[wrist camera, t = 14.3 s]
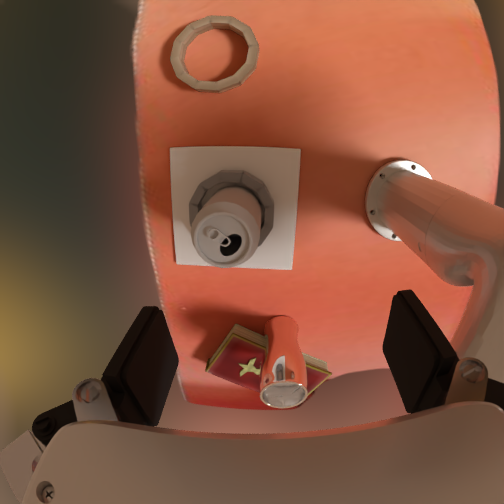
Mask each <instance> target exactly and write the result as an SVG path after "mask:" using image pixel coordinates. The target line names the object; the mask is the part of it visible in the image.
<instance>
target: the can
mask: <svg viewBox="0 0 504 504" xmlns="http://www.w3.org/2000/svg"><path fill="white" fill-rule="evenodd" d="M261 216H262V212H261V205H260V203H259V200H258V198H257V197H256V196H255V195H254V194H253V192H252V191H250V190H248V189H246V188H245V187H241V186H236V185H234V186H226V187H224V188H222V189H220V190H218V191H217V192H216V193H215V194H214V195H213V196H212V197H211V198H210V199H209V201H208V202H207V203H206V204H205V205H204V207H203V208H202V209H201V210H200V211H199V212H198V214H197V215H196V217H195V219H194V221H193V223H192V228H191V238H192V243H193V245H194V247H195V249H196V251H197V253H198V255H199V256H200V257H201V258H202V259H203V260H204V261H205V262H207V263H209V264H211V265H212V266H215V267H220V268H231V267H234V266H237V265H240V264H242V263H244V262H246V261H247V260H248V259H250V258H251V257H252V256H253V254H254V253H255V251H256V250H257V247H258V243H259V239H260V229H261Z"/></svg>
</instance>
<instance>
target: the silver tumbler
mask: <svg viewBox="0 0 504 504" xmlns="http://www.w3.org/2000/svg"><path fill="white" fill-rule="evenodd" d="M298 331H299V328H298V324H297V322H296V321H295V320H294V319H292V318H290V317H287V316H277V317H274V318H272V319H270V320H269V321H268V322H267V323H266V324H265V327H264V333H265V337H266V346H265V350H264V353H263V357H262V361H261V365H260V398H261V400H262V401H263V402H264V403H265V404H266V405H268V406H271V407H275V408H290V407H294V406H297V405H299V404H301V403H302V402H303V401H304V400H305V399H306V398H307V395H308V391H307V370H306V364H305V361H304V357H303V355H302V352H301V349H300V347H299V344H298Z"/></svg>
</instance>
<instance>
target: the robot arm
mask: <svg viewBox="0 0 504 504" xmlns="http://www.w3.org/2000/svg"><path fill="white" fill-rule="evenodd" d="M411 166H412V168H411ZM380 174H381V177H380ZM365 209H366V213H367V217H368V219H369V221H370V223H371V225H372V226H373V228H374V229H375V230H376V231H377V232H378V233H379V234H380V235H382V236H383V237H385V238H387V239H389V240H393V241H403V242H404V243H405V244H406V245H407V246H408V247H409V248H410V249H411V250H412V251H413V252H415V253H416V254H417V255H418V256H419V257H420V258H421V259H422V260H423V261H424V262H425V263H426V264H427V265H428V266H429V267H430V268H431V269H432V270H433V271H434V272H435V273H436V274H437V275H438V276H439V277H440V278H441V279H442V280H443V281H445V282H447V283H449V284H451V285H454V286H472V285H474V287H473V291H472V294H471V296H470V299H469V302H468V304H467V308H466V310H465V312H464V315H463V317H462V319H461V321H460V323H459V325H458V328H457V330H456V332H455V334H454V336H453V338H452V340H451V342H450V343H449V341H448V340H447V338H446V337H445V335H444V334H443V332H442V331H441V329H440V328H439V326H438V325H437V324H436V322H435V321H434V319H433V318H432V317H431V315H430V314H429V312H428V311H427V310H426V308H425V307H424V305H423V304H422V303H421V301H420V300H419V299H418V297H417V296H416V295H415V293H414V292H413V291H412V290H403V291H398V292H397V294H396V295H394V296H393V300H392V305H391V310H390V315H389V320H388V324H387V329H386V333H385V338H384V342H383V353H384V355H385V358H386V360H387V363H388V365H389V367H390V370H391V372H392V375H393V377H394V380H395V382H396V385H397V387H398V390H399V393H400V395H401V398H402V401H403V403H404V406H405V409H406V411H407V413H411V414H408V415H404V416H399V417H395V418H390V419H386V420H381V421H377V422H372V423H366V424H361V425H355V426H349V427H342V428H334V429H326V430H318V431H307V432H294V433H277V434H276V433H273V434H228V433H227V434H226V433H208V432H195V431H185V430H176V429H167V428H159V427H154V426H157V425H158V423H159V420H160V417H161V414H162V411H163V408H164V405H165V402H166V399H167V396H168V393H169V390H170V387H171V384H172V381H173V378H174V375H175V372H176V369H177V367H178V362H179V359H178V355H177V352H176V349H175V346H174V344H173V341H172V338H171V335H170V332H169V329H168V326H167V323H166V320H165V317H164V313H163V311H162V310H159V308H158V307H156V306H145V307H143V308H142V309H141V311H140V313H139V314H138V316H137V317H136V319H135V321H134V322H133V324H132V325H131V327H130V329H129V330H128V332H127V334H126V335H125V337H124V339H123V340H122V342H121V344H120V345H119V347H118V349H117V350H116V352H115V354H114V355H113V357H112V359H111V360H110V362H109V364H108V366H107V367H106V369H105V371H104V373H103V377H102V378H101V380H99V379H96V378H89V379H85V380H83V381H81V382H80V383H79V384H77V385H76V387H75V388H74V390H73V393H72V399H73V400H71V401H69V402H67V403H64V404H62V405H60V406H58V407H55V408H53V409H51V410H49V411H46V412H44V413H42V414H40V415H39V416H38V417H37V418H36V419H35V420H34V422H33V426H32V432H30V431H29V430H28V431H26V432H25V433H24V434H22V435H21V436H20V437H18V438H17V439H16V440H14V441H13V442H12V443H11V444H9V445H8V446H7V447H5V448H4V449H3V450H2V451H1V453H0V467H1V469H2V471H3V473H4V475H5V477H6V480H7V482H8V483H9V485H10V487H11V489H12V491H13V493H14V495H15V497H16V498H17V500H18V502H19V504H504V209H503V208H500V207H498V206H496V205H493V204H491V203H488V202H486V201H484V200H481V199H479V198H477V197H475V196H472V195H470V194H468V193H465V192H463V191H461V190H458V189H456V188H454V187H451V186H449V185H446V184H444V183H441V182H438V181H436V180H433V179H432V177H431V176H430V174H429V173H428V172H427V170H426V169H425V168H424V167H422V166H421V165H419V164H417V163H415V162H413V161H409V160H394V161H391V162H389V163H386V164H385V165H383V166H382V167H381V168H380V169H379V170H378V171H377V172H376V173H375V174H374V175H373V177H372V178H371V180H370V182H369V184H368V187H367V191H366V195H365ZM371 210H372V212H370V211H371ZM392 234H393V235H392Z"/></svg>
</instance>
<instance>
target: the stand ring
mask: <svg viewBox="0 0 504 504" xmlns="http://www.w3.org/2000/svg"><path fill="white" fill-rule="evenodd" d="M211 29H230V30H232V31H234V32H236V33H237V34H239V35H241V36H242V37H244V39H245V41H246V43H247V45H248V47H249V49H248V54H247V59H246V62H245V63H244V65H243V66H242V67H241V68H240V69H239V70H238V71H237V72H236V73H235V74H234V75H233V76H230V77H227V78H225V79H222V80H220V81H217V82H211V81H198V80H196V79H195V78H193V77H192V76H190V75H189V73H188V71H187V68H186V66H185V63H184V59H185V54H186V49H187V46H188V45H189V44H190V43H191V42H192V41H193V40H194V39H195V38H196V36H197V35H199V34H201V33H204V32H206V31H209V30H211ZM258 55H259V44H258V42H257V40H256V38H255V36H254V34H253V31H252V29H251V28H250V27H249V26H248V25H246V24H244V23H243V22H241V21H239V20H237V19H236V18H234V17H231V16H207V17H205V18H202V19H200V20H197V21H195V22H193V23H190V24H189V25H187V27H186V28H185V29H184V30H183V31H182V32H181V33H180V34H179V35H178V36H177V38H176V39H175V41H174V43H173V47H172V52H171V56H170V61H171V64H172V66H173V69H174V71H175V74H176V76H177V77H178V78H179V79H180V80H182V81H183V82H185V83H186V84H188V85H189V86H191V87H192V88H194V89H195V90H197V91H199V92H212V93H222V92H225V91H227V90H230V89H233V88H235V87H238V86H241V85H242V84H243V83H244V82H245V81H246V80H247V78H248V77H249V76H250V75H251V74H252V73H253V72H254V71H255V69H256V66H257V61H258ZM240 84H241V85H240Z"/></svg>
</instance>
